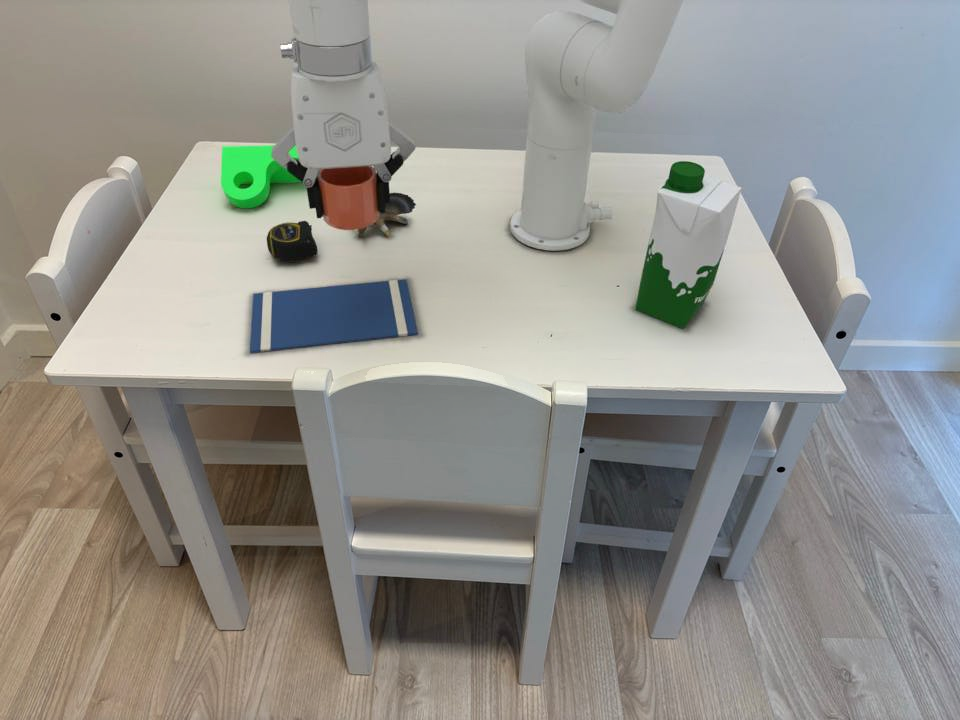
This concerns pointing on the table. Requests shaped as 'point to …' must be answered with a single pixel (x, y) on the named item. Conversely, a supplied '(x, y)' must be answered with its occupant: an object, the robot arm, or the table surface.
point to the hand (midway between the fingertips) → (350, 209)
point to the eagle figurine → (393, 212)
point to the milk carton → (685, 243)
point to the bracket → (252, 173)
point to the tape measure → (291, 241)
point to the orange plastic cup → (349, 197)
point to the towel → (331, 315)
